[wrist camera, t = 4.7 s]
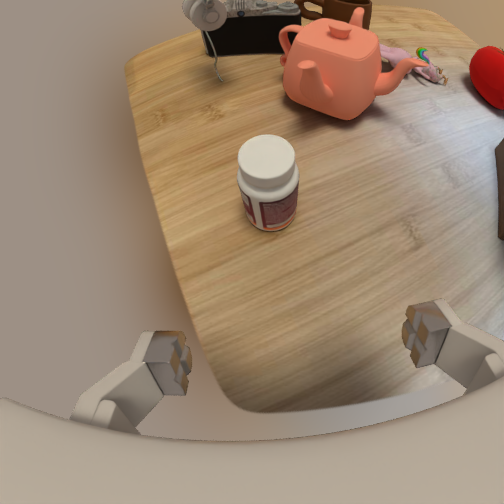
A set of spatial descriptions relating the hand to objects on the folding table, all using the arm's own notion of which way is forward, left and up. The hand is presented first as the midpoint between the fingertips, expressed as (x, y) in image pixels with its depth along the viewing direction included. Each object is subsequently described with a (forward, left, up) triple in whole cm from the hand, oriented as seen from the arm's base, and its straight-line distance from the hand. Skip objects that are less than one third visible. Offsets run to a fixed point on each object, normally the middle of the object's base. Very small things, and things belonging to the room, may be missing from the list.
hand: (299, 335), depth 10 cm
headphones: (+19, +28, -14) cm, 37 cm away
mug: (+39, +23, -14) cm, 48 cm away
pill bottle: (+8, +9, -14) cm, 19 cm away
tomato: (+53, -4, -14) cm, 55 cm away
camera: (+29, +31, -14) cm, 45 cm away
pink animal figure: (+41, +10, -14) cm, 45 cm away
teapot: (+26, +13, -14) cm, 32 cm away
